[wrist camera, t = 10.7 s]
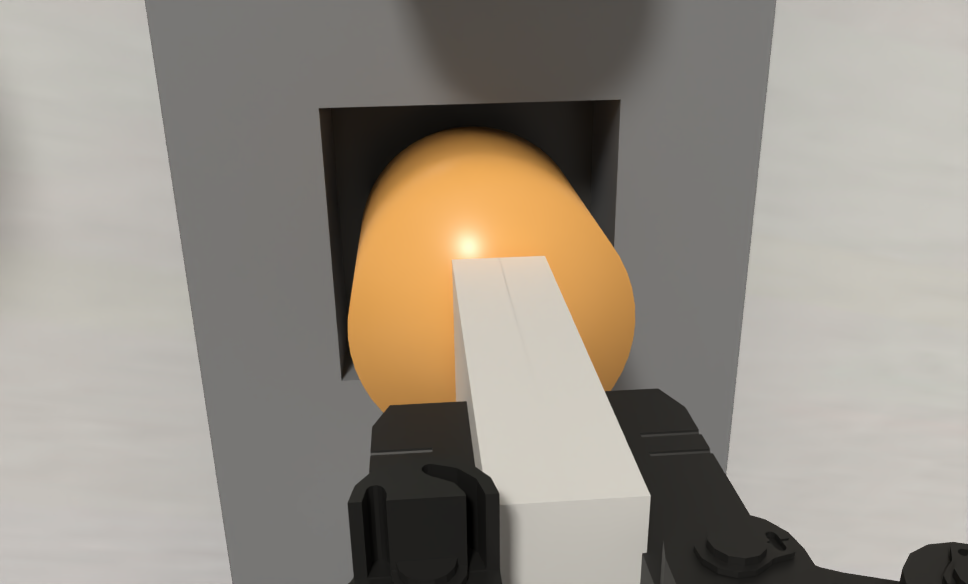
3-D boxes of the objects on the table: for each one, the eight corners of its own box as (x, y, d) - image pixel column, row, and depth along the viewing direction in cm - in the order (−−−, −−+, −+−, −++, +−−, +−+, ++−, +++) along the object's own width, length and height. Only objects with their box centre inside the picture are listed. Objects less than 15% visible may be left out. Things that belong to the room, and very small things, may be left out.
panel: (277, 693, 26) (262, 781, 24) (101, -614, 15) (34, -737, 12) (667, 663, 27) (697, 745, 25) (773, -593, 16) (850, -704, 13)
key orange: (368, 340, 20) (357, 461, 15) (353, 129, 18) (336, 194, 13) (577, 330, 20) (628, 446, 16) (583, 122, 18) (642, 183, 14)
